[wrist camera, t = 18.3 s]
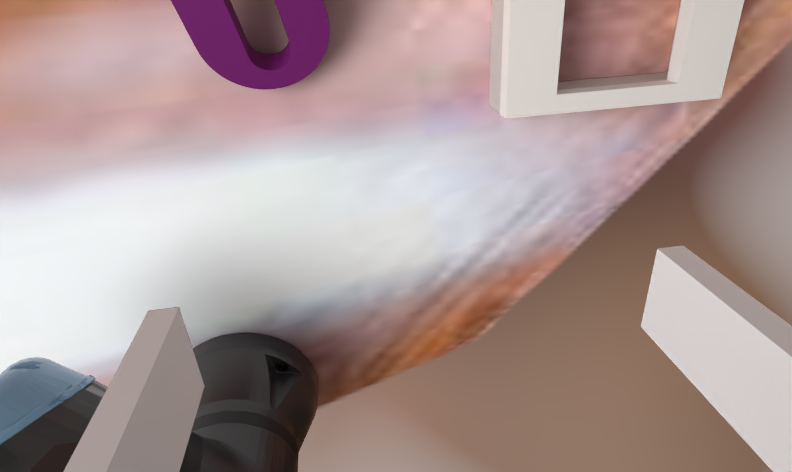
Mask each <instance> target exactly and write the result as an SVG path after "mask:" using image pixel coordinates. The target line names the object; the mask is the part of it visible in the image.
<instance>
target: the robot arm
mask: <svg viewBox="0 0 792 472" xmlns="http://www.w3.org/2000/svg"><path fill="white" fill-rule="evenodd" d="M641 327H642V329H643V330H645V332H646V333H647V334H648V335H649V336H650V337H651V338H652V339H653V341H654V342H655V343H656V344H657V345H658V346H659V347H660V348H661V349H662V350H663V352H664V353H665V354H666V355H667V356H668V357H669V358H670V359H671V360H672V361H673V363H674V364H675V365H676V366H677V367H678V368H679V369H680V370H681V371H682V372H683V373H684V374H685V375H686V377H687V378H688V379H689V380H690V381H691V382H692V383H693V384H694V385H695V387H696V388H697V389H698V390H699V391H700V392H701V393H702V394H703V395H704V396H705V398H706V399H707V400H708V401H709V402H710V403H711V404H712V405H713V406H714V407H715V408H716V410H717V411H718V412H719V413H720V414H721V415H722V416H723V417H724V418H725V419H726V420H727V422H728V423H729V424H730V425H731V426H732V427H733V428H734V429H735V430H736V431H737V433H738V434H739V435H740V436H741V437H742V438H743V439H744V440H745V441H746V442H747V444H749V446H750V447H751V448H752V449H753V450H754V451H755V452H756V453H757V454H758V456H759V457H760V458H761V459H762V460H763V461H764V462H765V463H766V464H767V465H768V467H769V468H770V469H771V470H772V471H773V472H792V326H791V325H789V324H788V323H787V322H785V321H784V320H783V319H781V318H780V317H779V316H777V315H776V314H775V313H773V312H772V311H771V310H769V309H768V308H766V307H765V306H764V305H762V304H761V303H759V302H758V301H757V300H756V299H754V298H753V297H752V296H750V295H749V294H748V293H746V292H745V291H744V290H742V289H741V288H739V287H738V286H737V285H735V284H734V283H732V282H731V281H730V280H729V279H727V278H726V277H724V276H723V275H722V274H721V273H719V272H718V271H717V270H715V269H714V268H712V267H711V266H710V265H708V264H707V263H706V262H704V261H703V260H702V259H700V258H699V257H698V256H696V255H695V254H694V253H692V252H691V251H690V250H688V249H687V248H686V247H684V246H676V247H668V248H659V249H657V253H656V258H655V263H654V267H653V272H652V277H651V281H650V286H649V291H648V295H647V300H646V305H645V310H644V315H643V319H642V324H641ZM95 379H96V378H95V377H93V376H91V375H89V376H85V375H83V374H80V373H78V372H76V371H74V370H71V369H69V368H67V367H65V366H62V365H60V364H58V363H56V362H53V361H51V360H49V359H45V358H38V357H35V358H27V359H24V360H21V361H18V362H16V363H14V364H13V365H11V366H9V367H8V368H7V369H6V370H5V371H3V372H2V373H1V374H0V472H297V471H298V453H299V450H300V448H301V446H302V443H303V441H304V439H305V437H306V434H307V432H308V430H309V428H310V425H311V423H312V421H313V419H314V416H315V413H316V410H317V405H318V380H317V376H316V373H315V370H314V368H313V367H312V365H311V363H310V362H309V361H308V359H307V358H306V357H305V356H304V355H303V354H302V353H301V352H300V351H298V350H297V349H296V348H294V347H293V346H291V345H289V344H287V343H285V342H283V341H281V340H278V339H276V338H273V337H269V336H265V335H259V334H248V333H242V334H230V335H225V336H220V337H217V338H214V339H211V340H208V341H206V342H204V343H202V344H200V345H199V346H197V347H195V348H194V349H192V346H191V343H190V340H189V336H188V333H187V330H186V327H185V324H184V321H183V318H182V315H181V312H180V309H179V307H175V308H167V309H159V310H151V311H148V313H147V315H146V316H145V318H144V320H143V322H142V324H141V326H140V328H139V330H138V332H137V333H136V335H135V337H134V339H133V341H132V343H131V345H130V347H129V349H128V350H127V352H126V354H125V356H124V358H123V360H122V362H121V364H120V366H119V367H118V369H117V371H116V373H115V375H114V377H113V379H112V381H111V383H110V384H109V386H108V387H106V386H105V385H103V384H101V383H99V382H97V381H95Z"/></svg>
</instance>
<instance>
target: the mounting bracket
mask: <svg viewBox="0 0 792 472" xmlns="http://www.w3.org/2000/svg"><path fill="white" fill-rule="evenodd" d="M171 1H172V3H173V5H174V7H175V9H176V11H177V13H178V15H179V17H180V18H181V20H182V22H183V24H184V26H185V28H186V30H187V32H188V34H189V36H190V37H191V39H192V41H193V43H194V45H195V47H196V49H197V50H198V52H199V54H200V55H201V57H202V58H203V59H204V61H205V62H206V63H207V64H208V65H209V66H210V67H211V68H212V69H213V70H214V71H215V72H217V73H218V74H219V75H221V76H222V77H224V78H226V79H227V80H229V81H231V82H234V83H236V84H239V85H242V86H245V87H249V88H255V89H276V88H282V87H286V86H289V85H292V84H294V83H296V82H298V81H300V80H302V79H303V78H305V77H306V76H308V75H309V74H310V73H311V72H312V71H313V70H314V69H315V68H316V67H317V66H318V64H319V63H320V61H321V60H322V58H323V56H324V54H325V52H326V49H327V46H328V42H329V21H328V16H327V12H326V8H325V4H324V0H275V2H276V4H277V7H278V10H279V13H280V16H281V19H282V22H283V24H284V27H285V30H286V33H287V36H288V39H289V43H288V45H287V46H286V48H285V49H284V50H282V51H281V52H279V53H277V54H272V55H266V54H262V53H259V52H257V51H255V50H254V49H253V48H252V47H251V46H250V45H249V43H248V41H247V39H246V37H245V35H244V32H243V30H242V28H241V25H240V23H239V21H238V18H237V16H236V14H235V11H234V9H233V7H232V4H231V2H230V0H171Z"/></svg>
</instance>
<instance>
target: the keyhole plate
mask: <svg viewBox="0 0 792 472" xmlns="http://www.w3.org/2000/svg"><path fill="white" fill-rule="evenodd" d="M743 4H744V0H681V2H680V7H679V13H678V18H677V23H676V29H675V34H674V39H673V45H672V50H671V55H670V61H669V66H668V71H667V72H662V73H651V74H640V75H628V76H617V77H606V78H595V79H584V80H573V81H562V82H558V75H559V63H560V52H561V41H562V30H563V18H564V7H565V0H492V6H491V44H490V81H489V106H490V107H491V108H492V109H494V110H495V111H496V112H498V113H499V114H500V115H502V116H503V117H504V118H505V119H508V118H518V117H529V116H539V115H550V114H560V113H571V112H581V111H592V110H602V109H613V108H623V107H634V106H644V105H654V104H665V103H675V102H686V101H696V100H707V99H717V98H721V95H722V91H723V87H724V83H725V79H726V74H727V70H728V66H729V62H730V58H731V54H732V50H733V45H734V41H735V37H736V33H737V29H738V25H739V21H740V16H741V12H742V8H743Z"/></svg>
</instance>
